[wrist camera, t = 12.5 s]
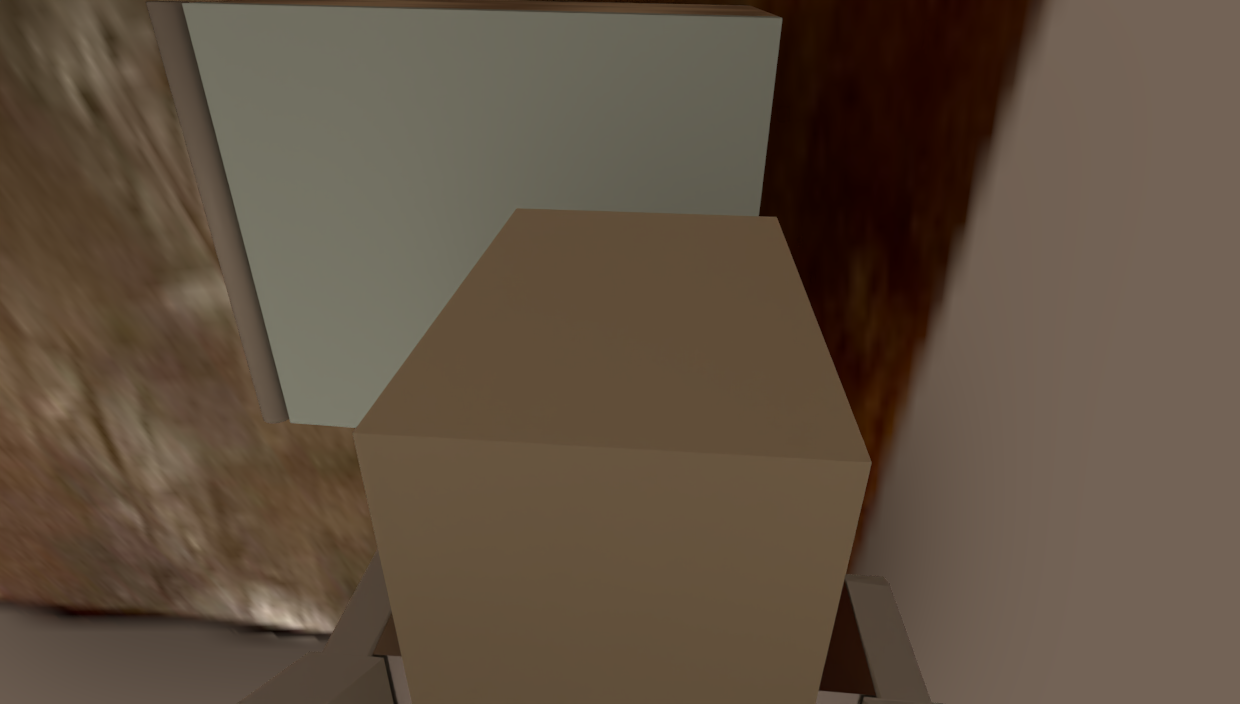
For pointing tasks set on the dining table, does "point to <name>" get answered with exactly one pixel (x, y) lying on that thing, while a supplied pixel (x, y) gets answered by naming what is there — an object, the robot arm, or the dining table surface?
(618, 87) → the lid
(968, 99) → the dining table surface
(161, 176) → the dining table surface
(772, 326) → the tan rectangular block
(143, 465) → the dining table surface
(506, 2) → the crate
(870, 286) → the dining table surface
